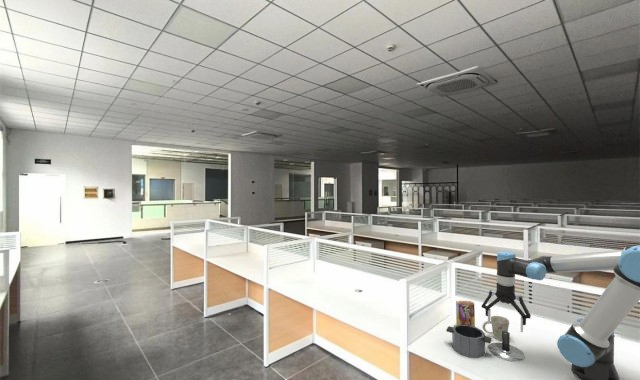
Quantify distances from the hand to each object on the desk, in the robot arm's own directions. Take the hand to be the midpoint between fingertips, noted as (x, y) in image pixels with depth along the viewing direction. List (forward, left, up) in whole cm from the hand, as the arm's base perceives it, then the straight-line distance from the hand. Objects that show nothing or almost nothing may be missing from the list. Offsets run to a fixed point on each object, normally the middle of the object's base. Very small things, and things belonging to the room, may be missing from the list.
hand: (504, 326), depth 145 cm
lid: (0, 0, -13) cm, 13 cm away
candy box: (+21, -14, -13) cm, 28 cm away
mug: (+6, -13, -13) cm, 19 cm away
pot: (+15, +8, -12) cm, 21 cm away
